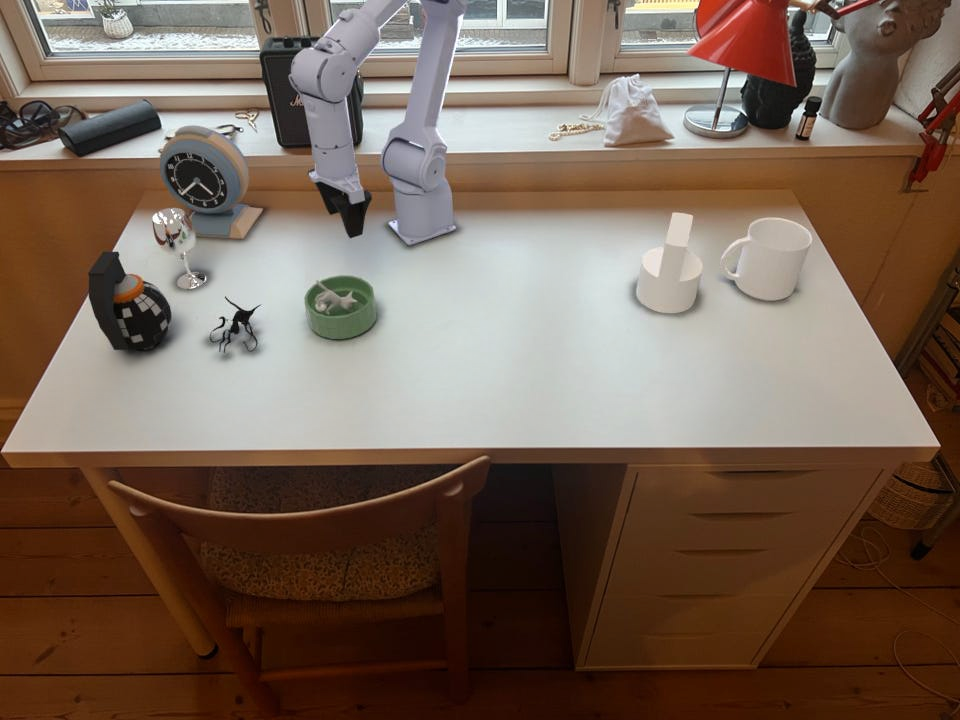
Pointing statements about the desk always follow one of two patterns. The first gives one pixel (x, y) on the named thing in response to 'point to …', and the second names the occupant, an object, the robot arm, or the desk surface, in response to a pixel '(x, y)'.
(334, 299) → the dog figurine
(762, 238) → the mug
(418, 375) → the desk surface
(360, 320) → the bowl
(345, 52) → the robot arm
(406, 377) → the desk surface
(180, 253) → the wineglass
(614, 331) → the desk surface
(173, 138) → the alarm clock
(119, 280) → the grenade
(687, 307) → the cylinder with rectangular tab
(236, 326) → the creature
